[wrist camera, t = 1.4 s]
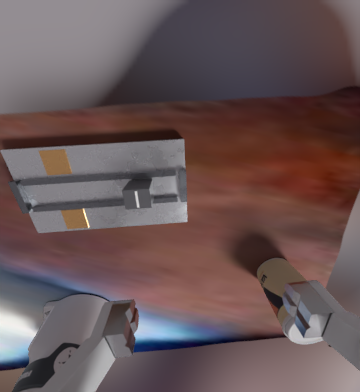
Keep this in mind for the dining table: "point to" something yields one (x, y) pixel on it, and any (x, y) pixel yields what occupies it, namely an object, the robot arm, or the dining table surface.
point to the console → (98, 183)
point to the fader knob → (138, 194)
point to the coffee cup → (274, 288)
